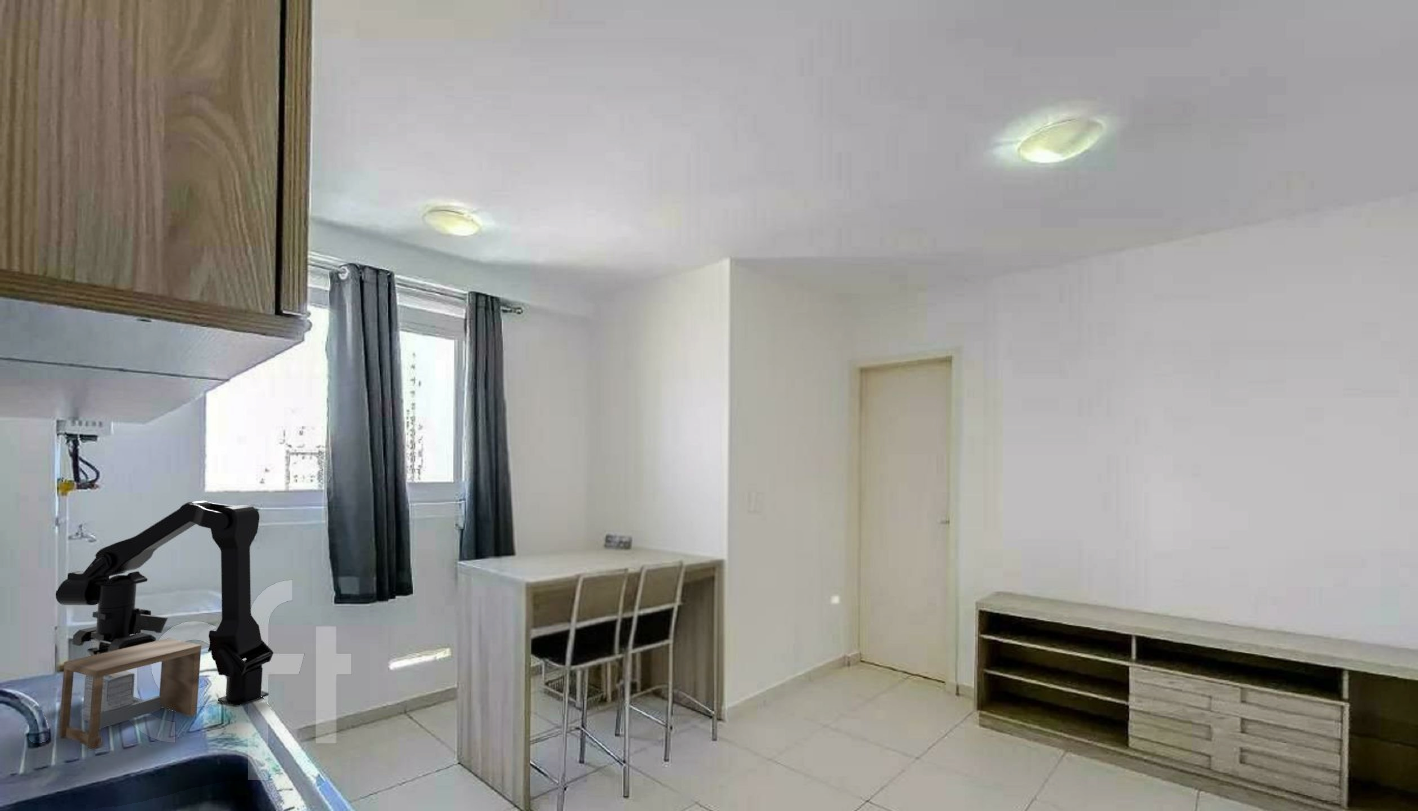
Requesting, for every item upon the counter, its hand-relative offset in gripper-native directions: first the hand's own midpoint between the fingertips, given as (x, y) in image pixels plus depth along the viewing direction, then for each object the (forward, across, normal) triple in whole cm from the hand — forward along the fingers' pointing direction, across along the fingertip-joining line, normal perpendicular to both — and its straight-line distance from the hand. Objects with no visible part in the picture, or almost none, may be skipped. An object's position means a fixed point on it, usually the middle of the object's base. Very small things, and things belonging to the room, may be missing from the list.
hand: (111, 681), depth 131 cm
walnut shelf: (+3, -20, +6) cm, 21 cm away
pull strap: (+3, -7, +4) cm, 8 cm away
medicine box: (+3, -13, +6) cm, 15 cm away
